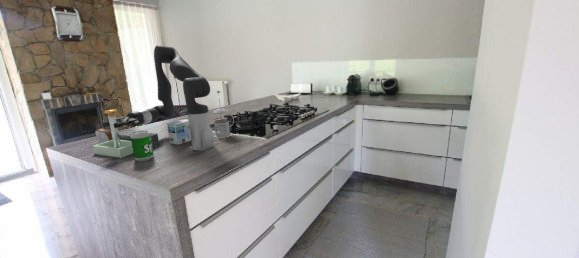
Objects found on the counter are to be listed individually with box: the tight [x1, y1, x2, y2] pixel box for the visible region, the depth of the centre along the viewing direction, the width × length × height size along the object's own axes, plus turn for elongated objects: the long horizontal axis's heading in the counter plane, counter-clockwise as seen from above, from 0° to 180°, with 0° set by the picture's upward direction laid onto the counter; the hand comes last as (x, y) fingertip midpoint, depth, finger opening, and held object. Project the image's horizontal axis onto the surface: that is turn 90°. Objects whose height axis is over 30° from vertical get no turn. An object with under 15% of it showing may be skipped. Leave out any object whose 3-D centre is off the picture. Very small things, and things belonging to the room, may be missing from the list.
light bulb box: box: [166, 118, 191, 145], centre depth 144 cm, size 11×7×11 cm, turn 150°
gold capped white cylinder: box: [104, 109, 121, 148], centre depth 129 cm, size 5×5×19 cm
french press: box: [212, 90, 235, 139], centre depth 149 cm, size 10×12×25 cm
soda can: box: [130, 130, 155, 162], centre depth 119 cm, size 8×8×12 cm
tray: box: [92, 140, 134, 159], centre depth 131 cm, size 18×11×4 cm, turn 68°
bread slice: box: [94, 127, 113, 144], centre depth 143 cm, size 15×3×8 cm, turn 57°
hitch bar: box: [119, 130, 160, 148], centre depth 140 cm, size 22×7×6 cm, turn 68°
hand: (108, 125), depth 126 cm, fingers open, 7 cm apart
